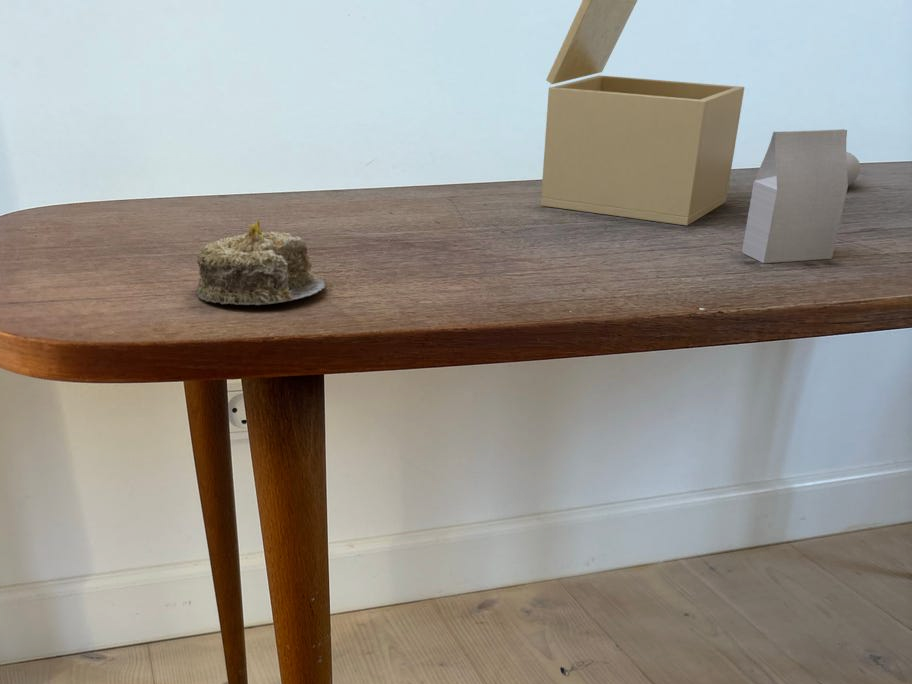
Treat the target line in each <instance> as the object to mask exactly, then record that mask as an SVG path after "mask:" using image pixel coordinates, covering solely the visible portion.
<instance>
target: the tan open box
mask: <svg viewBox="0 0 912 684" xmlns="http://www.w3.org/2000/svg"><path fill="white" fill-rule="evenodd" d="M744 92H745V86H737V85H726V84H714V83H713V84H711V83H701V82H690V81H689V82H688V81H675V80H663V79H650V78H638V77H625V76H612V75H601V74H599V75H595V76H591V77H587V78H583V79H579V80H574V81H571V82H566V83H563V84H558V85H555V86H550V87H548V94H547V95H548V96H547V108H546V122H545V123H546V124H545V136H544V137H545V138H544V149H543V150H544V151H543V168H542V179H541V180H542V181H541V198H540V206H541V207H548V208H555V209H561V210H570V211H576V212H582V213H583V212H584V213H592V214H599V215H607V216H612V217H621V218H627V219H635V220H642V221H650V222H656V223H657V222H658V223H664V224H670V225H672V224H673V225H678V226H690V225H691V224H692V223H694V222H695V221H697V220H699V219H700V218H702V217H703V216H706V215H707V214H709V213H710V212H712V211H714V210H715V209H717V208H719V207H720V206H722V205H723V204H725V203H726V202H727V199H728V191H729V187H730V180H731V172H732V167H733V161H734V155H735V149H736V143H737V135H738V130H739V123H740V118H741V113H742V106H743V100H744Z"/></svg>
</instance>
